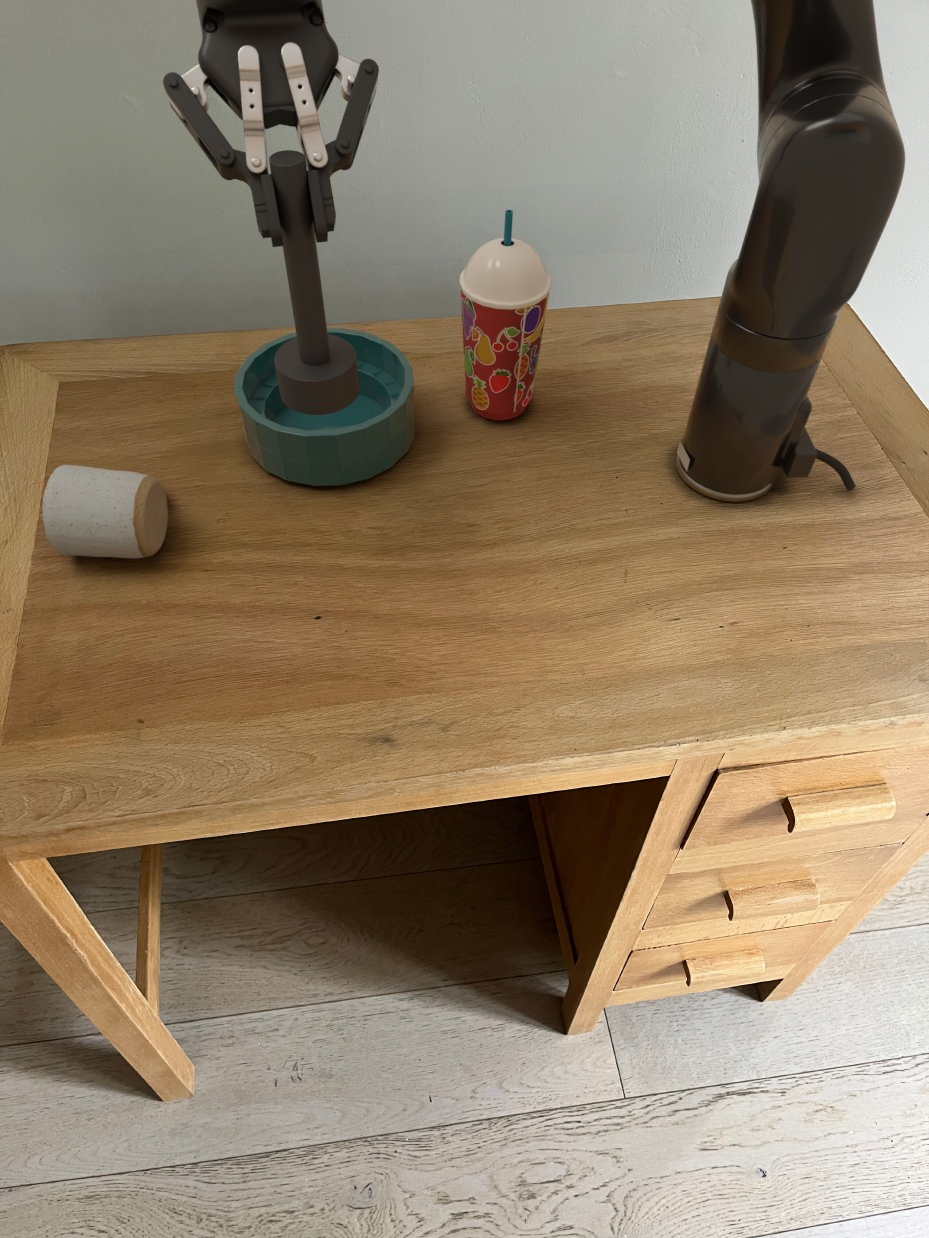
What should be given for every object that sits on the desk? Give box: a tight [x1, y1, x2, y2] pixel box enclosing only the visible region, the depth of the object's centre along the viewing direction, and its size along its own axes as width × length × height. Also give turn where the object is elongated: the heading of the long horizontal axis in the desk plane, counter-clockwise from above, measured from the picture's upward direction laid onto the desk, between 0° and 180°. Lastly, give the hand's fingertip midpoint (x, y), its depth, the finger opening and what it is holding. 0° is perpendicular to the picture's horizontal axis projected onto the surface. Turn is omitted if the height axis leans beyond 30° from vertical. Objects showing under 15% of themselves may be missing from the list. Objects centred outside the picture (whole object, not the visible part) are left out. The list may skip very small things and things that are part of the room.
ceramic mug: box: [41, 464, 169, 559], centre depth 73 cm, size 11×8×8 cm
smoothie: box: [458, 209, 552, 421], centre depth 81 cm, size 8×8×20 cm
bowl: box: [233, 327, 416, 487], centre depth 83 cm, size 17×17×6 cm
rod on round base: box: [268, 149, 359, 415], centre depth 59 cm, size 6×6×17 cm
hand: (300, 239), depth 54 cm, fingers closed on rod on round base
